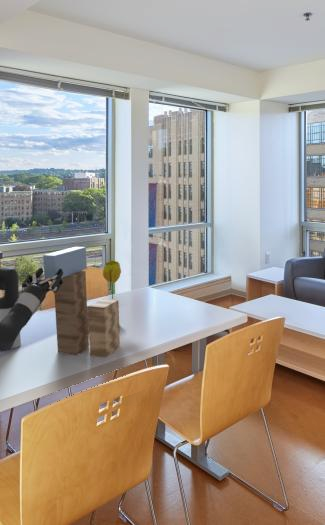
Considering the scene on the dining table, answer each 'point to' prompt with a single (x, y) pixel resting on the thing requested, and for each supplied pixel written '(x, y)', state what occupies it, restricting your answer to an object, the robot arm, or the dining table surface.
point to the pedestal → (72, 314)
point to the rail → (65, 262)
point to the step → (104, 327)
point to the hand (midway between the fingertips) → (51, 269)
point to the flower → (112, 272)
